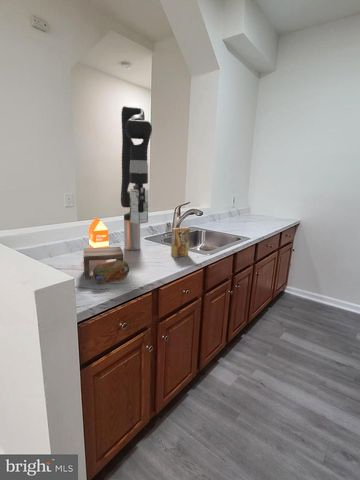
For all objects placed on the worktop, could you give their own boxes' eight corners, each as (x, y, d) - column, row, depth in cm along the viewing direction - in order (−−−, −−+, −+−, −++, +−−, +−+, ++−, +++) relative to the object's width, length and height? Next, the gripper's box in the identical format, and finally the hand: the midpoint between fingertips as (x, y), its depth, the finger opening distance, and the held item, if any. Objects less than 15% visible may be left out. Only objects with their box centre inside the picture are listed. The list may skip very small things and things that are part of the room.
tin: (94, 286, 109) (93, 265, 107) (92, 283, 111) (91, 263, 109) (129, 278, 117) (129, 259, 115) (126, 275, 120) (126, 257, 118)
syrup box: (139, 220, 124) (139, 188, 120) (148, 222, 120) (148, 189, 117) (129, 222, 119) (129, 188, 116) (138, 224, 116) (138, 189, 112)
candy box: (184, 253, 154) (185, 226, 151) (188, 255, 151) (189, 228, 147) (170, 255, 150) (171, 228, 146) (174, 257, 146) (175, 229, 143)
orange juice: (94, 259, 140) (92, 220, 135) (89, 254, 147) (87, 217, 142) (109, 256, 144) (108, 219, 139) (103, 252, 151) (102, 216, 147)
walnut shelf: (85, 269, 125) (83, 248, 123) (120, 266, 130) (120, 246, 128) (84, 279, 114) (83, 256, 112) (123, 276, 119) (123, 254, 117)
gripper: (127, 171, 120) (127, 208, 124) (132, 172, 107) (133, 213, 111) (144, 171, 122) (144, 208, 126) (151, 172, 109) (151, 213, 113)
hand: (139, 210), depth 118 cm, fingers closed on syrup box, 7 cm apart
